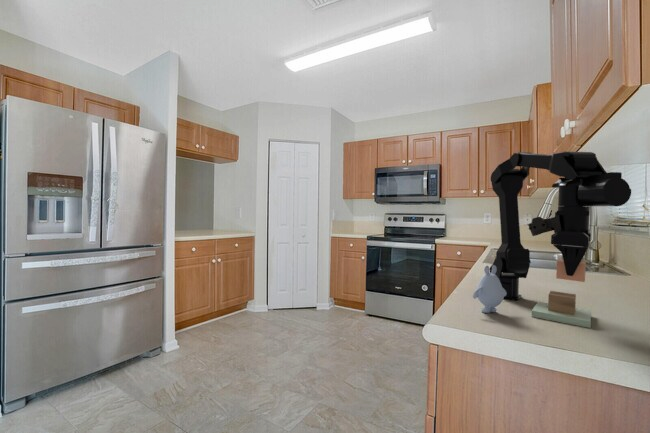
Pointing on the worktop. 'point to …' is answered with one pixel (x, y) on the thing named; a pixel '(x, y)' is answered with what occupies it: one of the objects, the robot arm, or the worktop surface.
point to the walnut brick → (562, 302)
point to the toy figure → (490, 291)
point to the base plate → (563, 315)
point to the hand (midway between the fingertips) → (570, 273)
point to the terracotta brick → (578, 274)
